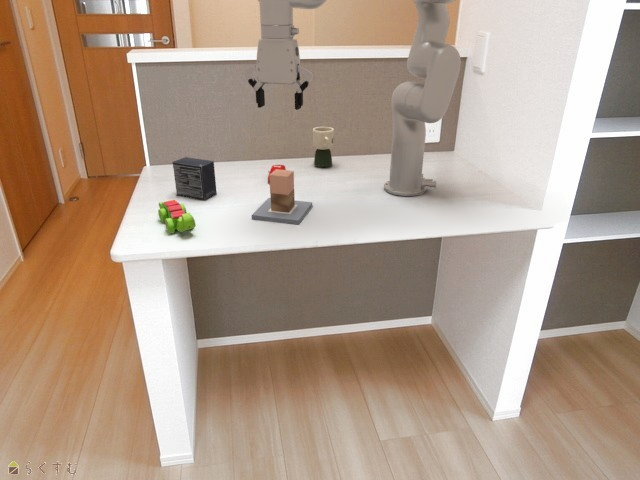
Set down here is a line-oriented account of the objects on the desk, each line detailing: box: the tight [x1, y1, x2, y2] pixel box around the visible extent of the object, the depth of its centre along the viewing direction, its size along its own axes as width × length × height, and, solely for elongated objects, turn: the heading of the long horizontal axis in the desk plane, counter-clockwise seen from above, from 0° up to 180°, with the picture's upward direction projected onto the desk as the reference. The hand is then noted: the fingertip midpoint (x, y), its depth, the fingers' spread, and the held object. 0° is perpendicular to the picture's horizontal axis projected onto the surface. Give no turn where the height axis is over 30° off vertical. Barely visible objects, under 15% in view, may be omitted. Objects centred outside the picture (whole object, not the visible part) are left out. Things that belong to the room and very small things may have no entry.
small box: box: [172, 156, 218, 202], centre depth 146 cm, size 11×6×10 cm, turn 65°
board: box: [251, 197, 313, 225], centre depth 136 cm, size 13×13×1 cm
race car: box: [267, 164, 287, 184], centre depth 161 cm, size 13×5×4 cm, turn 178°
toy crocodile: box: [158, 199, 196, 235], centre depth 128 cm, size 20×7×6 cm, turn 29°
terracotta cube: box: [268, 169, 295, 195], centre depth 132 cm, size 5×5×5 cm
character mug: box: [312, 126, 335, 168], centre depth 170 cm, size 11×7×13 cm, turn 14°
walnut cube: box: [269, 188, 296, 213], centre depth 134 cm, size 5×5×5 cm
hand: (279, 107), depth 123 cm, fingers open, 9 cm apart
